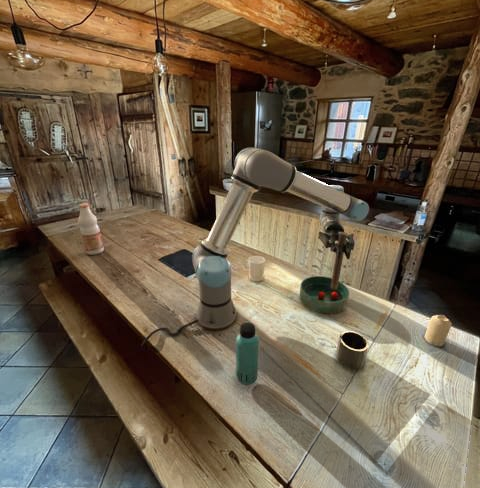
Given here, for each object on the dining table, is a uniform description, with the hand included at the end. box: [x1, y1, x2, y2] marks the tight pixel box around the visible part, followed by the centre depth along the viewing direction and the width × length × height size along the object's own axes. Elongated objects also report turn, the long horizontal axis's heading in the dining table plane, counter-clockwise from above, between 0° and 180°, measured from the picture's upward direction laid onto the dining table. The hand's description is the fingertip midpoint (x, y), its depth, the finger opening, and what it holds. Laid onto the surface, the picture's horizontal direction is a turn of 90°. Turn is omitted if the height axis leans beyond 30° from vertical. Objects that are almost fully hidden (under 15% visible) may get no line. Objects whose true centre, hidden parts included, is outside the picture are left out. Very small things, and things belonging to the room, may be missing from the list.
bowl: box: [299, 275, 350, 315], centre depth 111 cm, size 19×19×6 cm
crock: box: [335, 330, 370, 370], centre depth 83 cm, size 8×8×8 cm
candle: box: [424, 314, 453, 347], centre depth 90 cm, size 6×6×10 cm
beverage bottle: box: [235, 322, 260, 386], centre depth 73 cm, size 6×7×20 cm
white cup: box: [247, 255, 266, 282], centre depth 126 cm, size 8×8×10 cm
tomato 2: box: [331, 292, 338, 299], centre depth 112 cm, size 3×3×3 cm
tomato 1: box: [318, 292, 325, 299], centre depth 111 cm, size 3×3×3 cm
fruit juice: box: [77, 202, 105, 256], centre depth 148 cm, size 9×9×28 cm
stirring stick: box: [331, 231, 348, 290], centre depth 95 cm, size 2×2×22 cm
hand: (344, 255), depth 87 cm, fingers closed on stirring stick, 2 cm apart
